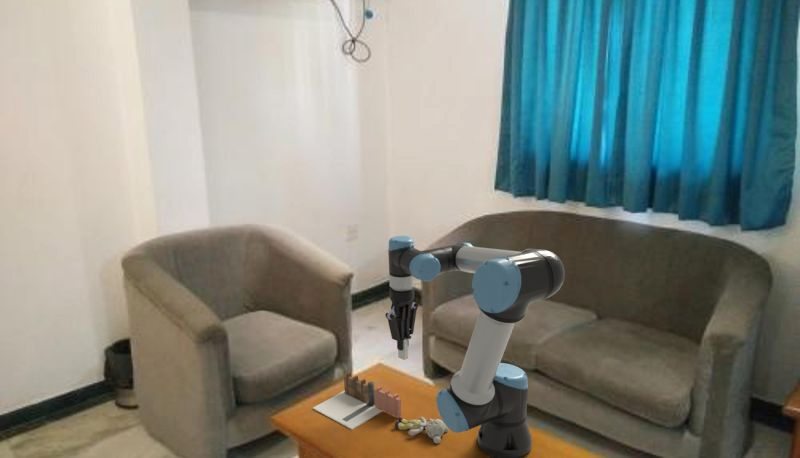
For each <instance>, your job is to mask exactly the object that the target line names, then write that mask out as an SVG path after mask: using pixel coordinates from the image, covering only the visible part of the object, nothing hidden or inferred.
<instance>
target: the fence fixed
mask: <svg viewBox="0 0 800 458" xmlns="http://www.w3.org/2000/svg"><path fill="white" fill-rule="evenodd" d="M343 382H344V383H343V384H344V387H343V388H344V391H345V393H347V394H349V395H351V396H353V397H355V398H357V399H359V400H361V401H363V402H368V401H369V405H370V406H373V405H375V392H374V389H375V382H373V381H369V382H368V383H366V379H365V378H363V379H361V380H359V376H358V375H355V376H351V372H347V373H345V375H344V376H343Z"/></svg>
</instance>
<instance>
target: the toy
mask: <svg viewBox="0 0 800 458" xmlns="http://www.w3.org/2000/svg"><path fill="white" fill-rule="evenodd" d="M397 418H398V417H397ZM394 428H395V429H396V430H400V431H405V430H408V429H409V431H407V432H408V435H409V436H411V437H412V436H416V435H418V434H419V433H423V432H424V431H426V434H427V436H428V437H429V438H430V439H432V440H433V443H434V444H441V442H442V439H441V438H442V436H443V435H444V433H448V432H449V430H450V429H449V428H448V427H447V426H446V425H445V423H444V422H443V420H442V419H439V418H436V419H433V418H428V419H427V420H426V418H425V417H424V416H419V419H409V420H407V419H405V418H403V417H402V416H400V417H399V418H398V419H397V420H395V422H394Z"/></svg>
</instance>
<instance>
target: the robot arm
mask: <svg viewBox="0 0 800 458" xmlns="http://www.w3.org/2000/svg"><path fill="white" fill-rule="evenodd" d="M414 243H415V242H414V239H413V238H412V237H411V236H407V235H397V236H393V237H391V238H390V239H389V240H388V250H387V253H388V271H389V272H388V275H389V277H388V279H389V280H388V281H389V300H390V301H391V306H390V311H389V312H386V313H385V314H384V315H385V318H386V319H387V321H388V322H387V323H388V327H389V331H390V336H391V340H394V341H396V349H397V354H398V355H397V357H398V358H399V359H402V360H404V361H406V360H407V359H409V344H410V343H409V341H410V340H412V338H413V337H412V336H411V335H413V334H414V331H415V323H416V317H417V310H418V308H419V303H417V302H414V301H413V300H414V299H415V279H417V280H419V281H423V282H425V283H427V282H432V281H434V280H435V279H436V278H437V277H438V276H439V275H440V274H445V273H448V272H449V273H450V272H453V271H457V272H458V271H459V272H463V273H469V274H474V275H473V277H472V283H471V288H472V289H473V291H472V296H473V299H474V301H475V303H476V306H477V308H478V309H479V313H478V317H477V320H476V322H475V326H474V329H473V331H472V335H471V337H470V341H469V344H468V347H467V350H466V353H465V356H464V358H463V362H462V364H461V369H460V370H458V371H457V372H455V373H454V374H453V376H452V377H451V380H450V383H449V386H448V387H447V388H441V390H439V391H437V394H436V398H435V399H436V408H437V410H438V411H437V412H438V414H439V416H440V418H441V420H442V421H443V422H444V425H446V426H447V427H448V428H449V429H448V430H450V431H451V432H453V433H457V434H460V433H463V432H468V431H470V430H471V429H474V428H476V427H479V426H480V427H479V429H478V431H477V445H478V447H479V448H480V450H481V451H483V452H484V453H485V454H487V455H489V456H491V457H494V458H522V457H524V456H526V455H527V454H528V453H530V451H531V450H532V446H533V444H532V443H533V437H532V433H531V432H530V428H529V425H528V421H527V409H528V393H529V391H528V390H529V385H528V375H527V373H526V371H524V370H523V369H522V368H520V367H518V366H517V365H514V364H510V363H506V362H505V363H504V362H501V361H502V359H503V356H504V353H505V351H506V347H507V345H508V343H509V340H510V338H511V335H512V332H513V329H514V327H515V324H519V323H520V322H522V321H523V320H524V318H525V316H526V315H527V312H528V309H529V306H530V305H531V304H532V303H536V302H538V301H542V300H546V299H549V298H550V297H552V296H554V295H556V294H557V293H558V291H559V290H560V289H561V287H562V286H563V284H564V282H565V275H566V273H565V272H566V271H565V267H564V264H563V261H562V260H561V259H560V257H559V256H557V254H555V253H554V252H553V251H550V250H547V249H537V248H536V249H535V248H526V249H524V250H522V251H516V250H509V249H508V250H507V249H501V248H500V249H499V248H489V247H488V248H487V247H481V246H480V247H479V246H474V245H472V243H470V242H459V243H455V244H452V245H447V246H441V247H440V246H439V247H436V248H431V249H430V248H429V249H426V250H420V249H417V248H415V244H414Z"/></svg>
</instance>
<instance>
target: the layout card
mask: <svg viewBox="0 0 800 458" xmlns="http://www.w3.org/2000/svg"><path fill="white" fill-rule="evenodd" d="M312 410H314V411H316V412H319V413H320V414H322V415H323V416H325V417H327V418H328V419H331V420H333V421H335V422H337V423H339V424H340V425H342V426H344V427H346V428H348V429H349V430H354V429H356V428H358V427H360V426H361V425H363V424H364V423H366V422H368V421H370V420H371V419H373V418H374V417H376V416H377V415H379V414H381V413H382V412H385V411H384V410H381V409H379V408H377V407H375V405H373V406H370V405H369V401H368V402H363V401H361V400H359V399H357V398H355V397H353V396H351V395H349V394H347V393H345V390H343V391H341V392H340V393H337V394H335V395H333V396H332V397H330V398H328V399H326V400H324V401H323V402H321V403H319V404H316V405H315V406H313V407H312Z"/></svg>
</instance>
